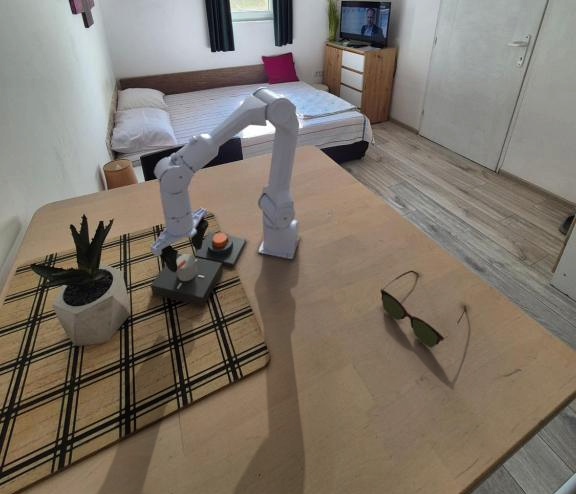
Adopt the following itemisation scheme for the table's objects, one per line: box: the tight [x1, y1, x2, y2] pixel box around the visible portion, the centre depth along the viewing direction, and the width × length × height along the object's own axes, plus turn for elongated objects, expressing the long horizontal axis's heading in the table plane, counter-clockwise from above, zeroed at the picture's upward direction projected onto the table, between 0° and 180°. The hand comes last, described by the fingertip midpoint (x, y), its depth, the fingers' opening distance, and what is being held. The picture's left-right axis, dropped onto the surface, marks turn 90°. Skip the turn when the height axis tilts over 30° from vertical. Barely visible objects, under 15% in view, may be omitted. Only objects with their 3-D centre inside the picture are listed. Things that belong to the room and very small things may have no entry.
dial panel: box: [150, 253, 224, 308], centre depth 77 cm, size 13×10×3 cm
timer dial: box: [177, 253, 197, 281], centre depth 76 cm, size 4×4×4 cm
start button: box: [213, 232, 227, 248], centre depth 86 cm, size 4×4×2 cm
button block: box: [193, 231, 247, 268], centre depth 87 cm, size 11×9×3 cm
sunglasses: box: [380, 270, 467, 348], centre depth 72 cm, size 14×15×5 cm
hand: (185, 258), depth 75 cm, fingers open, 7 cm apart
